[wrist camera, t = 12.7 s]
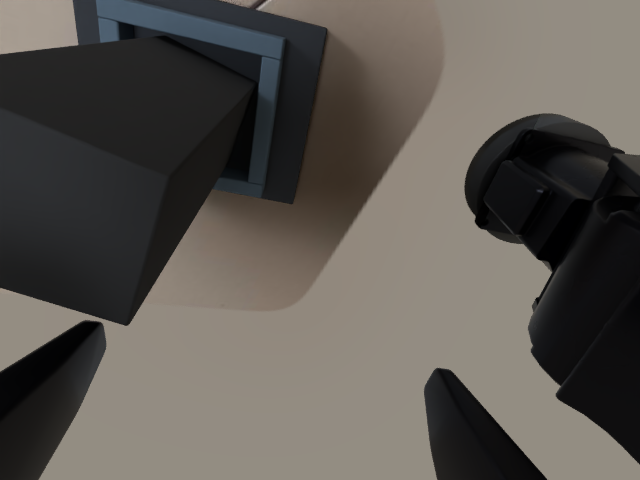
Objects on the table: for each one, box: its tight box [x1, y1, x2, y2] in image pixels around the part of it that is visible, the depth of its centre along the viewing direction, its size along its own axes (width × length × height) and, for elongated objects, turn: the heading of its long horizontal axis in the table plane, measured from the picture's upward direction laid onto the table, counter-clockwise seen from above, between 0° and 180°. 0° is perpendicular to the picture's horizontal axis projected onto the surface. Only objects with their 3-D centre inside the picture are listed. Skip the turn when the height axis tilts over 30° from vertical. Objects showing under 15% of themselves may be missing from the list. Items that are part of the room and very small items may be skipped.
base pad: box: [73, 0, 327, 204], centre depth 17 cm, size 11×9×2 cm
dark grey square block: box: [0, 35, 257, 326], centre depth 12 cm, size 4×4×12 cm
